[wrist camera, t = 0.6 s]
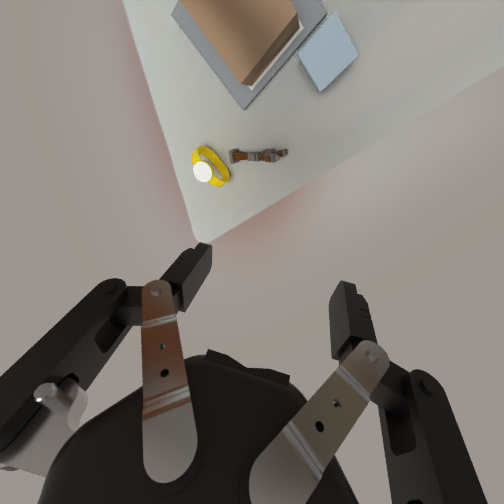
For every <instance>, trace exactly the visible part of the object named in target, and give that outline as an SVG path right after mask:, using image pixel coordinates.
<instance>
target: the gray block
mask: <svg viewBox="0 0 504 504" xmlns="http://www.w3.org/2000/svg"><path fill="white" fill-rule="evenodd" d="M297 55H298V58H299V61H300V63H301V65H302V66H303V68H304V69H305V71H306V73H307V74H308V76H309V78H310V79H311V81H312V82H313V84H314V86H315V87H316V89H317V91H318V92H319V93H320V92H321V91H322V90H323V89H324V88H325V87H326V86H327V85H328V84H329V83H330V82H331V81H333V80H334V79H335V78H336V77H337V76H338V75H339V74H340V73H341V72H342V71H343V70H344V69H345V68H346V67H347V66H348V65H349V64H350V63H351V62H352V61H353V60H354V59H355V58H356V57H357V56H359V54H358V52H357V50H356V48H355V46H354V45H353V43H352V41H351V39H350V37H349V35H348V33H347V31H346V29H345V27H344V25H343V23H342V21H341V19H340V18H339V16H338V14H337V12H336V10H335V11H334V13H333V14H332V15H331V16H330V17H329V18H328V19H327V21H326V22H325V23H324V24H323V25H322V26H321V27H320V29H319V30H318V31H317V32H316V33H315V34H314V35H313V37H312V38H311V39H310V40H309V41H308V42H307V43H306V45H305V46H304V47H303V48H302V49H301V50H300V52H299V53H298V54H297Z"/></svg>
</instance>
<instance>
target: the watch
mask: <svg viewBox="0 0 504 504" xmlns="http://www.w3.org/2000/svg"><path fill="white" fill-rule="evenodd" d="M199 154H201V155H204V156H205V157H207V158H208V159H209V160H210V161H211V162H212V163H213V164H214V165H215V167H216V168H217V169H218V170H219V171H220V173H221V176H222V178H223V179H219V178H218V177H216V176H215V175H214V170H213V167H212V166H211V164H210V163H209V162H207V161H203V160H201V158H200V155H199ZM192 162H193V164H194V168H193V172H194V175H195V177H196V178H197V179H198V180H199V181H201V182H209V183H210V184H212V185H214V186H217V187H221V186H223V185H224V184H225V183H226V182H227V181H229V171H228V169H227V167H226V166H225V164H224V163H223V162H222V161H221V160H220V158H219V157H218V156H217V155H216V154H215V152H214V151H212V150H211V149H209V148H207V147H204V146H200V147H198V148H197V149H196V150H195V151H194V152H193V154H192Z"/></svg>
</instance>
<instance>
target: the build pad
mask: <svg viewBox="0 0 504 504" xmlns="http://www.w3.org/2000/svg"><path fill="white" fill-rule="evenodd" d="M290 1H291V3H292V4H293V6H294V8H295V10H296V11H297V15H298V21H299V27H300V28H299V29H298V31H297V32H296V33H295V34H294V35H293V37H292V38H291V39H290V40H289V41H288V43H287V44H286V45H285V46H284V48H283V49H282V50H281V51H280V52H279V54H278V55H277V56H276V57H275V58H274V60H273V61H272V62H271V63H270V65H269V66H268V67H267V68H266V69H265V71H264V72H263V73H262V74H261V75H260V77H259V78H258V79H257V80H256V82H255V83H254V84H253V85H252V86H248V85H244V84H240V82H239V81H238V79H237V78H236V77H235V75H234V74H233V73H232V71H231V70H230V68H229V67H228V66H227V64H226V63H225V62H224V60H223V59H222V57H221V56H220V55H219V53H218V52H217V51H216V49H215V48H214V46H213V45H212V44H211V42H210V41H209V40H208V38H207V37H206V35H205V34H204V33H203V31H202V30H201V29H200V27H199V26H198V24H197V23H196V22H195V20H194V19H193V18H192V16H191V15H190V13H189V12H188V11H187V9H186V8H185V7H184V5H183V4H182V2H181V1H180V0H178V2H177V4H176V6H175V8H174V10H173V12H172V14H171V15H172V17H173V18H174V19H175V21H176V22H177V23H178V25H179V26H180V27H181V29H182V30H183V31H184V33H185V34H186V35H187V37H188V38H189V39H190V41H191V42H192V43H193V44H194V46H195V47H196V48H197V50H198V51H199V52H200V54H201V55H202V56H203V58H204V59H205V60H206V62H207V63H208V64H209V66H210V67H211V68H212V70H213V71H214V72H215V74H216V75H217V76H218V78H219V79H220V80H221V82H222V83H223V84H224V86H225V87H226V88H227V89H228V91H229V92H230V93H231V95H232V96H233V97H234V99H235V100H236V101H237V103H238V104H239V105H240V107H241V108H242V109H243V110H245V109H246V108H247V107H248V106H249V105H250V103H251V102H252V101H253V100H254V99H255V98H256V97H257V95H258V94H259V93H260V92H261V91H262V90H263V88H264V87H265V86H266V85H267V84H268V83H269V81H270V80H271V79H272V78H273V77H274V76H275V74H276V73H277V72H278V71H279V70H280V69H281V68H282V66H283V65H284V64H285V63H286V62H287V61H288V59H289V58H290V57H291V56H292V55H293V54H294V52H295V51H296V50H297V49H298V48H299V47H300V46H301V44H302V43H303V42H304V41H305V40H306V39H307V37H308V36H309V35H310V34H311V33H312V32H313V30H314V29H315V28H316V27H317V26H318V25H319V23H320V22H321V21H322V20H323V19H324V18H325V17H326V14H327V12H326V11H325V9H324V7H323V5H322V3H321V1H320V0H290Z"/></svg>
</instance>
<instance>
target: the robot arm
mask: <svg viewBox="0 0 504 504" xmlns="http://www.w3.org/2000/svg"><path fill="white" fill-rule="evenodd" d="M211 266H212V245H208V244H205V243H201V242H200V243H199V244H198V245H197V246H196V248H195V249H192V248H189V249H187V250H185V251H184V252H182V253H181V255H180V256H179V257H178V258H177V259H176V260H175V262H174V263H173V264H172V265H171V266H170V268H169V269H168V270H167V271H166V272H165V273H164V274H163V276H162V277H161V278H160V279H159V280H154V281H151V282H149V283H147V284H146V285H145V286H126V283H125V282H124V281H123V280H122V279H117V278H113V279H108V280H105V281H103V282H101V283H99V284H98V285H97V286H96V287H95V288H94V289H93V290H92V291H91V292H90V293H88V294H87V296H85V297H84V298H83V299H82V300H81V301H80V302H79V303H78V304H77V305H76V306H75V307H74V308H73V309H72V310H70V312H68V313H67V314H66V315H65V316H64V317H63V318H62V319H61V320H60V321H59V322H58V323H57V324H56V325H55V326H54V327H53V328H52V329H50V330H49V331H48V332H47V333H46V334H45V335H44V336H43V337H42V338H41V339H40V340H39V341H38V342H37V343H36V344H35V345H34V346H33V347H31V349H29V350H28V351H27V352H26V353H25V354H24V355H23V356H22V357H21V358H20V359H19V360H18V361H17V362H16V363H15V364H14V365H12V366H11V367H10V368H9V369H8V370H7V371H6V372H5V373H4V374H3V375H2V376H1V377H0V469H3V470H7V471H15V470H18V469H21V470H24V471H27V472H30V473H33V474H37V475H41V476H43V477H46V479H45V482H44V485H43V489H42V492H41V496H40V498H39V501H38V504H359V503H358V501H357V499H356V497H355V495H354V493H353V491H352V489H351V487H350V485H349V483H348V481H347V479H346V477H345V475H344V473H343V471H342V469H341V467H340V465H339V463H338V461H337V459H336V457H335V453H336V452H337V450H338V449H339V447H340V446H341V444H342V442H343V441H344V439H345V438H346V436H347V434H348V433H349V432H350V430H351V429H352V427H353V426H354V424H355V423H356V421H357V419H358V418H359V417H360V415H361V414H362V412H363V411H364V409H365V408H366V406H367V405H368V403H369V401H370V400H371V401H372V402H374V403H375V404H377V405H378V409H379V416H380V423H381V430H382V436H383V443H384V451H385V458H386V464H387V471H388V477H389V485H390V492H391V499H392V504H488V503H487V501H486V498H485V496H484V493H483V490H482V488H481V485H480V482H479V480H478V477H477V475H476V472H475V469H474V467H473V464H472V461H471V459H470V456H469V453H468V451H467V448H466V445H465V443H464V440H463V438H462V435H461V432H460V430H459V427H458V425H457V423H456V420H455V417H454V414H453V412H452V409H451V406H450V403H449V401H448V398H447V396H446V393H445V391H444V389H443V387H442V386H441V385H440V383H439V382H438V381H437V380H436V379H435V378H434V377H432V376H431V375H430V374H428V373H427V372H425V371H422V370H418V369H416V370H413V371H411V372H408V371H406V370H405V369H403V368H401V367H400V366H398V365H396V364H394V363H393V362H391V361H390V360H389V357H388V355H387V353H386V352H385V351H384V350H383V348H382V347H380V346H379V345H378V344H377V340H376V336H375V332H374V327H373V323H372V320H371V315H370V313H369V307H368V303H367V302H366V300H365V299H364V297H363V296H362V295H360V294H357V290H356V285H355V284H353V283H349V282H345V281H340V282H339V284H338V286H337V287H336V289H335V291H334V293H333V294H332V296H331V298H330V301H329V320H330V337H331V353H332V354H331V355H332V359H335V360H339V367H338V368H337V369H336V371H334V372H333V374H332V375H331V376H330V377H329V378H328V379H327V380H326V381H325V383H324V384H323V385H322V386H321V387H320V388H319V389H318V390H317V391H316V393H315V394H314V395H313V396H312V397H311V398H310V399H309V400H308V401H307V400H306V398H305V397H304V395H303V394H302V393H301V392H300V391H299V390H298V389H297V388H296V387H295V386H294V385H292V384H291V383H290V382H289V379H290V375H287V374H284V373H281V372H277V371H275V370H271V369H263V368H247V367H245V366H243V365H242V364H240V363H239V362H237V361H236V360H234V359H232V358H231V357H229V356H228V355H225V354H222V353H219V352H216V351H213V350H209V349H208V351H207V353H206V355H197V356H192V357H189V358H186V359H184V358H183V352H182V347H181V341H180V335H179V329H178V324H177V318H176V314H177V313H178V311H182V312H185V311H186V310H187V308H188V307H189V305H190V303H191V302H192V300H193V298H194V297H195V295H196V293H197V292H198V290H199V288H200V287H201V285H202V284H203V282H204V280H205V279H206V277H207V275H208V274H209V272H210V269H211ZM137 325H138V326H139V325H140V326H141V345H142V347H141V349H142V378H143V386H142V387H140V388H139V389H137V390H136V391H134V392H132V393H131V394H129V395H128V396H126V397H125V398H123V399H122V400H120V401H118V402H117V403H116V404H114V405H112V406H111V407H109V408H108V409H106V410H105V411H103V412H101V413H100V414H98V415H97V416H95V417H94V418H92V419H91V420H89V421H88V422H86V423H85V424H84V425H82V426H81V427H80V428H79V422H80V418H81V416H82V414H83V412H84V410H85V408H86V406H87V402H88V396H87V393H86V390H87V389H88V387H89V386H90V385H91V383H92V382H93V380H94V379H95V378H96V376H97V374H98V373H99V372H100V371H101V369H102V368H103V367H104V365H105V364H106V362H107V361H108V360H109V358H110V356H111V355H112V354H113V353H114V351H115V350H116V348H117V347H118V346H119V344H120V343H121V342H122V340H123V339H124V337H125V336H126V334H127V333H128V332H129V330H130V329H131V328H132V326H137Z"/></svg>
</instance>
